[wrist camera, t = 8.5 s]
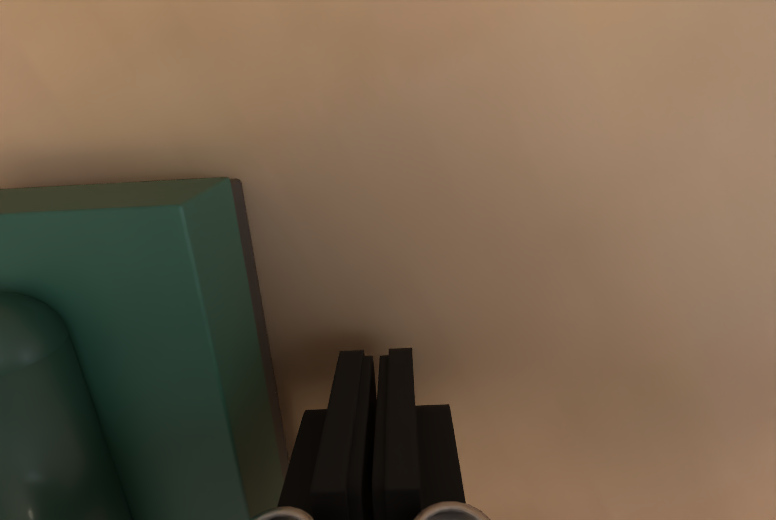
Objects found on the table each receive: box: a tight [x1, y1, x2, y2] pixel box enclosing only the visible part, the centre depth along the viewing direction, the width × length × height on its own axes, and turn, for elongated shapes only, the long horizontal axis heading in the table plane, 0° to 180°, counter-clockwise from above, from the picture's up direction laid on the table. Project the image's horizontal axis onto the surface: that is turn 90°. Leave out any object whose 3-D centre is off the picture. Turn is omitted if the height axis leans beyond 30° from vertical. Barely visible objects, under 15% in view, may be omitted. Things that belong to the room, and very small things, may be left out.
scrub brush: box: [0, 177, 289, 520], centre depth 10 cm, size 6×11×5 cm, turn 3°
